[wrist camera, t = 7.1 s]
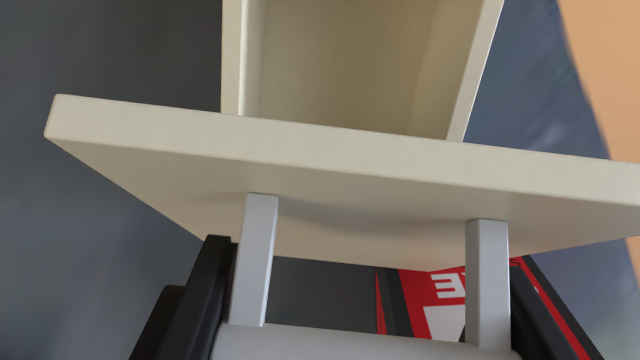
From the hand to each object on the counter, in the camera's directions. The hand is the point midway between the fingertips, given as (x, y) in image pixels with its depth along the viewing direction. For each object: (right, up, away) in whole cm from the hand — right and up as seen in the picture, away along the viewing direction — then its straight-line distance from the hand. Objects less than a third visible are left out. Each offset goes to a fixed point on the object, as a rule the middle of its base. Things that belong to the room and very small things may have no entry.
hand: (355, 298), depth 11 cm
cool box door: (0, +2, +5) cm, 5 cm away
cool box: (0, +10, +17) cm, 20 cm away
